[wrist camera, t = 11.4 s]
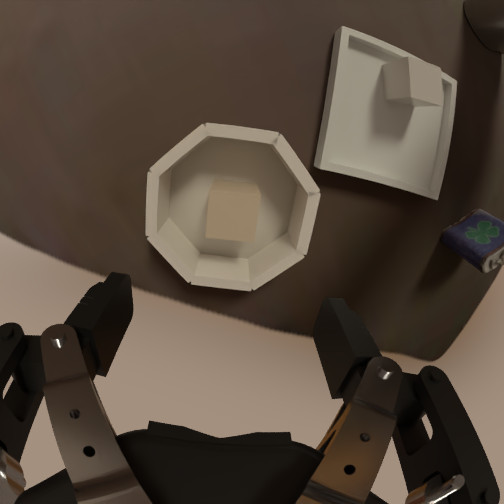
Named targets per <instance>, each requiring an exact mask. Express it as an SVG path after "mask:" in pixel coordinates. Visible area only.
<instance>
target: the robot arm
mask: <svg viewBox="0 0 504 504" xmlns="http://www.w3.org/2000/svg"><path fill="white" fill-rule="evenodd" d="M464 10H465V14H466V17H467V19H468V21H469V24H470V26H471V27H472V29H473V31H474V32H475V34H476V35H477V37H478V38H479V39H480V41H481V42H482V43H483V44H484V45H485V46H486V47H487V48H489V49H490V50H492V51H495V52H496V51H499V52H500V53H501V54H504V0H465V2H464ZM132 316H133V298H132V287H131V278H130V275H128V274H122V273H116V272H112V273H110V275H109V276H108V277H107V279H106V280H105V281H104V283H103V282H99V283H97V284H96V285H94V286H92V287H91V288H90V289H89V290H88V291H87V293H86V294H85V295H84V297H83V298H82V299H81V300H80V303H78V305H77V306H76V307H75V309H74V310H73V311H72V313H71V314H70V315H69V317H68V318H67V320H66V321H65V322H64V324H56V325H53V326H50V327H48V328H47V329H46V330H45V331H44V332H43V333H42V335H41V336H35V335H34V336H32V335H24V332H23V330H22V328H21V326H20V325H19V324H17V323H6V324H3V325H1V326H0V504H388V503H387V502H385V501H384V500H382V499H381V498H379V497H378V496H377V495H375V494H373V493H372V492H371V491H370V490H371V488H372V486H373V483H374V481H375V478H376V476H377V474H378V471H379V469H380V466H381V464H382V461H383V459H384V456H385V454H386V451H387V448H388V445H389V442H390V440H391V437H392V438H393V441H394V444H395V447H396V450H397V454H398V457H399V461H400V464H401V468H402V471H403V475H404V478H405V482H406V486H407V490H408V494H409V495H408V496H407V498H406V502H405V504H498V503H499V499H500V492H499V488H498V485H497V482H496V479H495V476H494V474H493V471H492V468H491V466H490V463H489V461H488V458H487V456H486V453H485V451H484V449H483V446H482V444H481V442H480V439H479V437H478V435H477V433H476V431H475V429H474V427H473V425H472V423H471V420H470V418H469V416H468V414H467V412H466V410H465V408H464V407H463V404H462V403H461V401H460V399H459V397H458V395H457V393H456V392H455V390H454V388H453V386H452V384H451V382H450V381H449V379H448V377H447V375H446V374H445V373H444V372H443V371H442V370H441V369H439V368H437V367H435V366H425V367H423V368H422V370H421V371H420V373H419V374H418V375H416V374H410V373H404V372H402V369H401V368H400V366H399V365H398V364H397V363H396V362H395V361H393V360H392V359H390V358H387V357H383V356H382V355H381V353H380V351H379V349H378V347H377V346H376V344H375V342H374V340H373V338H372V336H371V334H369V331H368V329H367V328H366V325H365V324H364V322H363V320H362V318H361V317H360V316H359V315H358V314H356V313H355V312H354V311H353V310H350V309H349V308H348V306H347V304H346V302H345V300H344V299H343V298H333V297H325V298H324V300H323V302H322V305H321V308H320V311H319V314H318V317H317V320H316V323H315V326H314V331H313V337H314V342H315V345H316V348H317V351H318V354H319V357H320V361H321V364H322V367H323V371H324V374H325V377H326V380H327V383H328V387H329V390H330V394H331V397H332V399H338V398H343V401H344V403H343V405H342V406H341V408H340V410H339V412H338V414H337V415H336V417H335V419H334V421H333V422H332V424H331V426H330V428H329V429H328V431H327V433H326V435H325V436H324V438H323V440H322V441H321V442H320V444H319V445H318V447H317V448H316V449H314V448H312V447H310V446H307V445H305V444H302V443H298V442H294V441H292V440H291V434H290V432H255V433H250V434H245V435H239V436H233V437H226V438H217V437H214V436H210V435H207V434H204V433H201V432H198V431H195V430H192V429H189V428H187V427H184V426H178V425H171V424H165V423H160V422H154V421H149V424H148V429H141V430H134V431H130V432H126V433H123V434H120V435H118V436H117V435H116V433H115V431H114V429H113V427H112V425H111V423H110V421H109V418H108V416H107V414H106V412H105V409H104V407H103V405H102V402H101V400H100V397H99V395H98V392H97V390H96V387H95V384H94V382H93V380H94V378H95V376H96V375H100V376H104V377H106V375H107V373H108V371H109V368H110V366H111V364H112V361H113V359H114V357H115V354H116V352H117V350H118V347H119V345H120V343H121V341H122V339H123V337H124V334H125V332H126V330H127V328H128V326H129V324H130V322H131V319H132ZM11 375H12V377H13V381H12V383H11V385H10V387H9V389H8V391H7V393H6V395H5V397H4V399H3V390H4V388H5V386H6V384H7V382H8V380H9V378H10V377H11ZM44 396H45V400H46V405H47V409H48V413H49V417H50V421H51V424H52V428H53V431H54V435H55V438H56V441H57V444H58V447H59V450H60V453H61V456H62V459H63V461H64V464H65V467H66V468H65V469H63V470H61V471H60V472H58V473H56V474H55V475H53V476H51V477H49V478H48V479H46V480H44V481H42V482H40V483H39V484H37V485H35V486H33V487H31V488H29V489H28V490H25V491H24V487H25V485H26V481H25V478H24V474H23V470H22V468H21V466H20V464H19V463H20V460H21V456H22V453H23V450H24V447H25V444H26V441H27V438H28V435H29V432H30V429H31V427H32V424H33V421H34V419H35V416H36V414H37V411H38V408H39V406H40V404H41V401H42V399H43V397H44ZM425 414H427V417H428V419H429V421H430V424H431V426H432V429H433V435H432V438H431V440H430V439H429V436H428V434H427V431H426V429H425V426H424V424H423V421H422V419H421V418H422V417H423V416H424V415H425Z"/></svg>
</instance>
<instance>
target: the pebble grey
mask: <svg viewBox="0 0 504 504" xmlns="http://www.w3.org/2000/svg"><path fill="white" fill-rule="evenodd" d="M382 69H383V87H384V100H386V101H391V102H396V103H400V104H405V105H409V106H413V107H429V106H443V92H442V77H441V68H440V67H437V66H435V65H432V64H429V63H427V62H424V61H421V60H418V59H415V58H412V57H409V56H407V57H404V58H401V59H398V60H395V61H392V62H389V63H386V64H383V65H382Z"/></svg>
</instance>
